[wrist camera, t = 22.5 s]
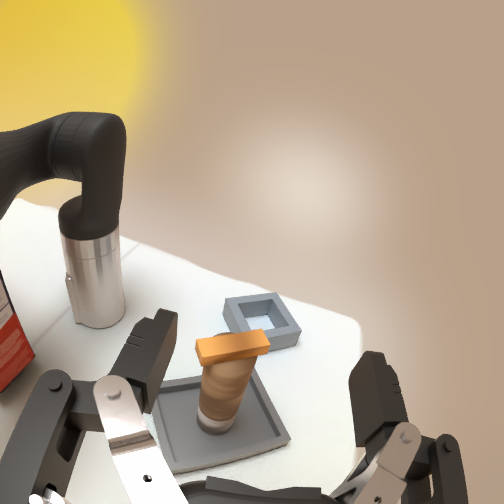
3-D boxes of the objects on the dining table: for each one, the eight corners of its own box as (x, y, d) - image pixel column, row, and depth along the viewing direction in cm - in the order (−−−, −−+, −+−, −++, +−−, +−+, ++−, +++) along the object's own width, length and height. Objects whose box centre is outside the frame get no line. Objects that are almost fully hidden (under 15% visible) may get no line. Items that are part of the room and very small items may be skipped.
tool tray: (169, 475, 27) (168, 471, 26) (146, 392, 37) (145, 383, 36) (285, 445, 34) (291, 439, 33) (250, 374, 44) (253, 365, 42)
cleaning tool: (197, 440, 32) (207, 370, 23) (186, 409, 36) (192, 327, 26) (243, 429, 35) (277, 356, 25) (230, 400, 38) (256, 318, 29)
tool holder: (242, 357, 46) (246, 342, 44) (222, 314, 54) (225, 298, 52) (294, 345, 51) (301, 330, 48) (271, 307, 58) (276, 292, 56)
